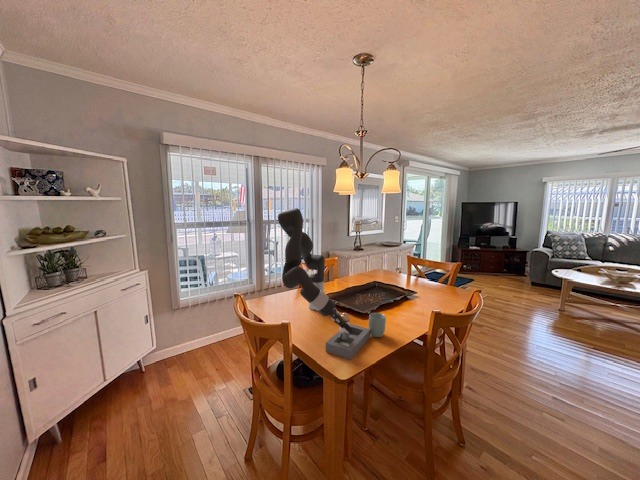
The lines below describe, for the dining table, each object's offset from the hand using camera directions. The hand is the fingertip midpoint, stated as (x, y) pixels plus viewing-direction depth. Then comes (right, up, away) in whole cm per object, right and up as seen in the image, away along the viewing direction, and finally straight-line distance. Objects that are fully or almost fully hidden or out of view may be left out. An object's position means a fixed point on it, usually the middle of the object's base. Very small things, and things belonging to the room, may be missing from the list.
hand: (348, 327), depth 113 cm
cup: (+15, -8, +13) cm, 21 cm away
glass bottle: (-2, -4, 0) cm, 5 cm away
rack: (+1, -9, +5) cm, 11 cm away
